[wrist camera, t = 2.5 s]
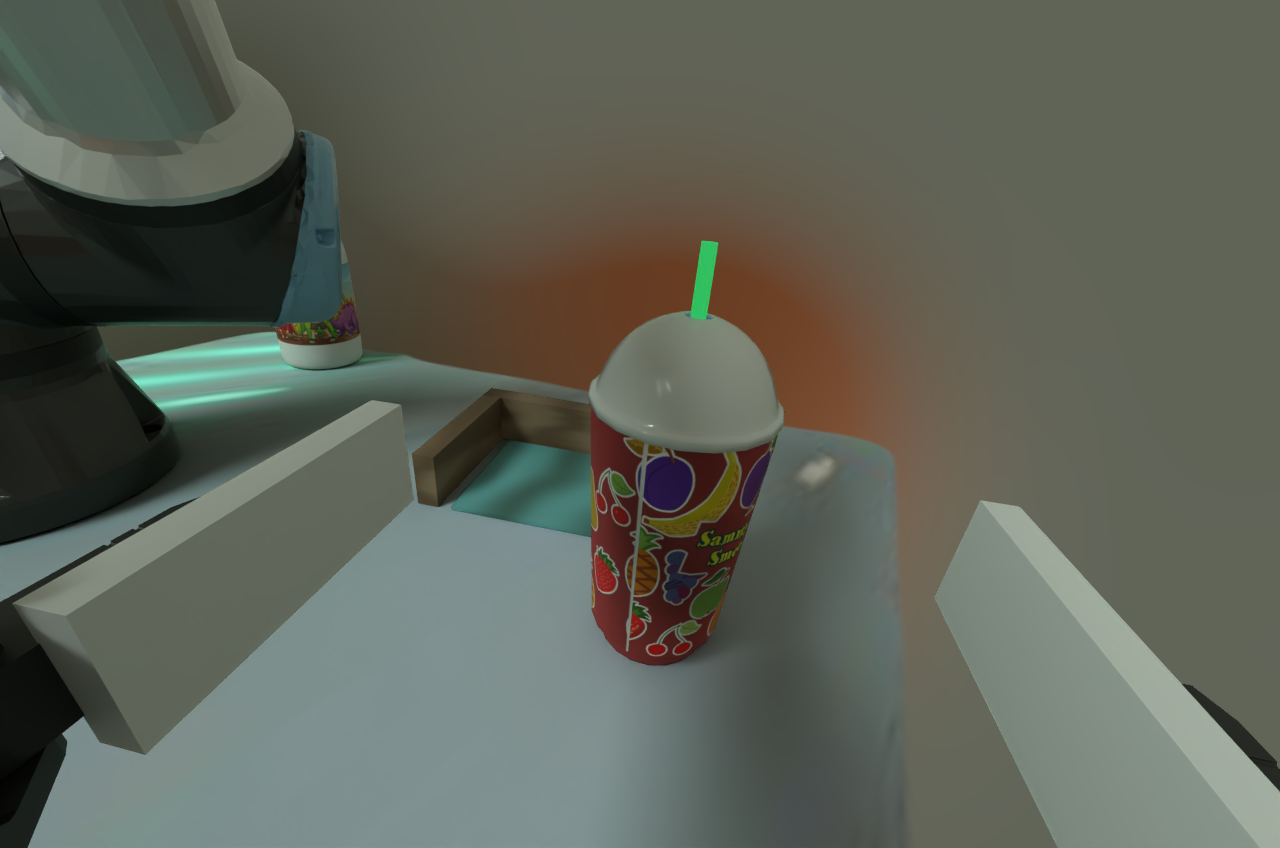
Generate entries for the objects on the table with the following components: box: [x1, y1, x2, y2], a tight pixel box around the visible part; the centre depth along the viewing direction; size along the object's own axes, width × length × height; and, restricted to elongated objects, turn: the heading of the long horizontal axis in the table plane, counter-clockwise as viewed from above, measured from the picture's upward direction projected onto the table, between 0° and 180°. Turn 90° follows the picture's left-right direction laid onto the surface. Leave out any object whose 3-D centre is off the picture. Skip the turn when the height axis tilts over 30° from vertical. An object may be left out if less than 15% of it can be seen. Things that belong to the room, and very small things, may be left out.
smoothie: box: [588, 241, 785, 665], centre depth 23 cm, size 8×8×20 cm
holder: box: [412, 388, 591, 537], centre depth 38 cm, size 15×12×4 cm
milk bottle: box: [275, 242, 362, 369], centre depth 51 cm, size 8×8×20 cm
